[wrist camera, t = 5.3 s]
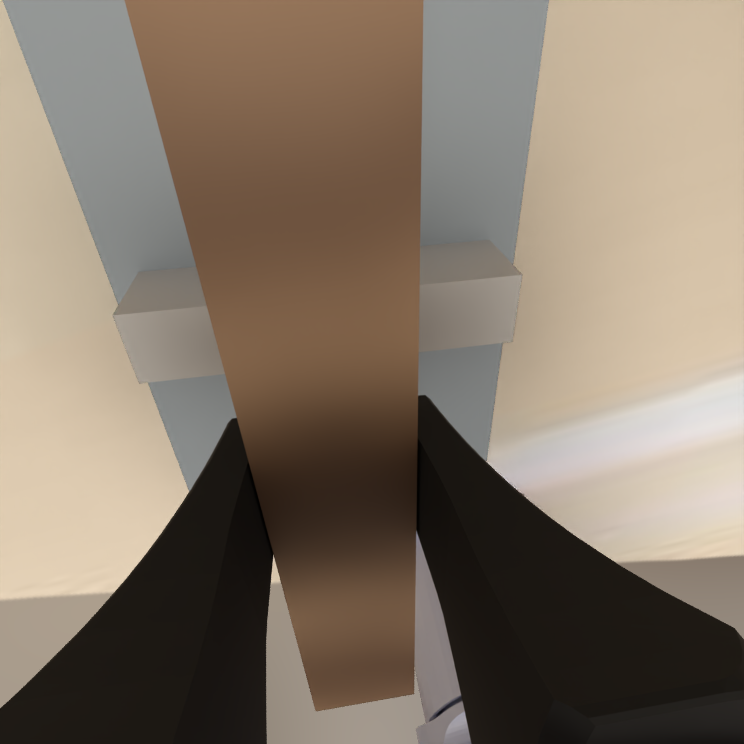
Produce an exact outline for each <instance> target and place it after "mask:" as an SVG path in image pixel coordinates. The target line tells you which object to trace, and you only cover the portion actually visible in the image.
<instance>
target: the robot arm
mask: <svg viewBox="0 0 744 744" xmlns="http://www.w3.org/2000/svg"><path fill="white" fill-rule="evenodd" d="M272 563H273V550H272V547H271V543H270V539H269V536H268V532H267V528H266V524H265V521H264V517H263V513H262V510H261V506H260V502H259V498H258V495H257V491H256V487H255V484H254V480H253V476H252V472H251V469H250V465H249V461H248V458H247V454H246V450H245V446H244V443H243V439H242V435H241V432H240V428H239V424H238V420H237V418H232V419H231V420H230V421H229V422H228V424H227V426H226V428H225V430H224V432H223V434H222V436H221V438H220V439H219V441H218V443H217V445H216V447H215V449H214V451H213V453H212V454H211V456H210V458H209V460H208V461H207V463H206V465H205V467H204V468H203V470H202V472H201V473H200V475H199V477H198V478H197V480H196V482H195V483H194V485H193V487H192V488H191V490H190V492H189V493H188V495H187V496H186V498H185V499H184V501H183V503H182V504H181V505H180V507H179V508H178V510H177V511H176V513H175V514H174V516H173V517H172V519H171V520H170V522H169V523H168V524H167V526H166V527H165V529H164V530H163V532H162V533H161V535H160V536H159V537H158V539H157V540H156V541H155V543H154V544H153V545H152V547H151V548H150V549H149V551H148V552H147V553H146V555H145V556H144V557H143V558H142V560H141V561H140V562H139V563H138V565H137V566H136V567H135V568H134V570H133V571H132V572H131V573H130V575H129V576H128V577H127V578H126V580H125V581H124V582H123V583H122V584H121V585H120V586H119V588H118V589H117V590H116V591H115V592H114V593H113V595H112V596H111V597H110V598H109V599H108V600H107V601H106V603H105V604H104V605H103V606H102V607H101V608H100V609H99V611H98V612H97V613H96V614H95V615H94V616H93V617H92V618H91V619H90V620H89V621H88V623H87V624H86V625H85V626H84V627H83V628H82V629H81V630H80V631H79V632H78V633H77V634H76V635H75V636H74V637H73V638H72V639H71V640H70V641H69V643H67V644H66V645H65V646H64V647H63V648H62V650H60V651H59V652H58V653H57V654H56V655H55V656H54V657H53V658H52V659H51V660H50V662H48V663H47V664H46V665H45V666H44V667H43V668H42V669H41V670H40V671H39V672H38V673H37V674H36V675H35V676H34V677H33V678H32V679H31V680H30V681H29V682H28V683H27V684H26V685H25V686H24V687H23V688H22V689H21V690H20V691H19V692H18V693H17V694H15V696H13V697H12V698H11V699H10V700H9V701H8V702H7V703H6V704H5V705H3V706H2V707H1V708H0V744H267V734H266V633H267V616H268V606H269V595H270V584H271V573H272ZM414 666H415V671H416V676H417V681H418V686H419V691H420V696H421V702H422V706H423V712H424V716H425V721H426V724H423V725H420V726H418V727H417V728H416V732H417V737H418V742H419V744H744V639H743V638H742V637H741V636H740V635H739V633H738V632H737V631H736V630H735V628H733V627H731V626H729V625H727V624H726V623H724V622H722V621H720V620H718V619H716V618H714V617H712V616H710V615H708V614H706V613H704V612H702V611H701V610H699V609H697V608H695V607H693V606H691V605H689V604H687V603H685V602H683V601H681V600H679V599H677V598H675V597H674V596H672V595H670V594H668V593H666V592H664V591H663V590H661V589H659V588H657V587H655V586H654V585H652V584H650V583H649V582H647V581H645V580H644V579H642V578H640V577H638V576H637V575H635V574H633V573H632V572H630V571H628V570H626V569H625V568H623V567H621V566H620V565H618V564H617V563H615V562H614V561H612V560H611V559H609V558H608V557H606V556H605V555H603V554H602V553H600V552H599V551H597V550H596V549H594V548H593V547H591V546H590V545H588V544H587V543H585V542H584V541H582V540H581V539H579V538H577V537H576V536H574V535H573V534H572V533H570V532H569V531H568V530H566V529H565V528H564V527H562V526H561V525H560V524H558V523H557V522H555V521H554V520H553V519H551V518H550V517H549V516H548V515H546V514H545V513H544V512H543V511H541V510H540V509H539V508H538V507H536V506H535V505H534V504H532V503H531V502H530V501H529V500H528V499H526V498H525V497H524V496H523V495H522V494H521V493H519V492H518V491H517V490H516V489H515V488H514V487H513V486H511V485H510V484H509V483H508V482H507V481H506V480H505V479H504V478H503V477H502V476H501V475H499V474H498V473H497V472H496V471H495V470H494V469H493V468H492V467H491V466H490V465H489V464H488V463H487V462H486V461H485V460H484V459H483V458H482V457H481V456H480V455H479V454H478V453H477V452H476V451H475V450H474V449H473V448H472V447H471V446H470V445H469V444H468V443H467V442H466V440H465V439H464V438H463V437H462V436H461V435H460V434H459V433H458V432H457V431H456V429H455V428H454V427H453V426H452V425H451V424H450V423H449V421H448V420H447V419H446V418H445V417H444V416H443V414H442V413H441V412H440V411H439V409H438V408H437V407H436V406H435V405H434V403H433V402H432V401H431V399H430V398H429V397H427V396H426V395H419V396H418V441H417V515H416V589H415V662H414Z"/></svg>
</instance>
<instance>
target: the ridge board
mask: <svg viewBox="0 0 744 744" xmlns="http://www.w3.org/2000/svg"><path fill="white" fill-rule="evenodd" d="M3 3H4V5H5V8H6V10H7V13H8V16H9V18H10V21H11V24H12V26H13V29H14V31H15V34H16V37H17V39H18V42H19V45H20V47H21V50H22V53H23V55H24V58H25V60H26V63H27V66H28V68H29V71H30V74H31V76H32V79H33V81H34V84H35V87H36V89H37V92H38V95H39V97H40V100H41V103H42V105H43V108H44V110H45V113H46V116H47V118H48V121H49V124H50V126H51V129H52V131H53V134H54V137H55V139H56V142H57V145H58V147H59V150H60V153H61V155H62V158H63V160H64V163H65V166H66V168H67V171H68V174H69V176H70V179H71V181H72V184H73V187H74V189H75V192H76V195H77V197H78V200H79V202H80V205H81V208H82V210H83V213H84V216H85V218H86V221H87V224H88V226H89V229H90V231H91V234H92V237H93V239H94V242H95V245H96V247H97V250H98V252H99V255H100V258H101V260H102V263H103V266H104V268H105V271H106V274H107V276H108V279H109V281H110V284H111V287H112V289H113V292H114V295H115V297H116V300H117V302H118V307H117V309H116V310H115V312H114V314H113V315H112V316H113V318H114V321H115V323H116V326H117V328H118V331H119V333H120V336H121V338H122V341H123V344H124V346H125V349H126V351H127V354H128V356H129V359H130V361H131V364H132V366H133V369H134V371H135V374H136V377H137V379H138V382H139V384H140V383H148V384H149V387H150V389H151V392H152V395H153V397H154V400H155V402H156V405H157V408H158V410H159V413H160V416H161V418H162V421H163V423H164V426H165V429H166V431H167V434H168V437H169V439H170V442H171V445H172V447H173V450H174V452H175V455H176V458H177V460H178V463H179V466H180V468H181V471H182V473H183V476H184V479H185V481H186V484H187V487H188V489H189V492H190V490H191V488H192V487H193V485H194V483H195V482H196V480H197V478H198V477H199V475H200V473H201V472H202V470H203V468H204V467H205V465H206V463H207V461H208V460H209V458H210V456H211V454H212V453H213V451H214V449H215V447H216V445H217V443H218V441H219V439H220V438H221V436H222V434H223V432H224V430H225V428H226V426H227V424H228V422H229V421H230V420H231V419H232V418H237V417H236V413H235V409H234V406H233V402H232V398H231V394H230V391H229V387H228V383H227V380H226V376H225V372H224V368H223V365H222V361H221V357H220V354H219V350H218V346H217V342H216V339H215V335H214V331H213V328H212V324H211V320H210V316H209V313H208V309H207V305H206V302H205V298H204V294H203V290H202V287H201V283H200V279H199V276H198V272H197V268H196V264H195V261H194V257H193V253H192V249H191V246H190V242H189V238H188V235H187V231H186V227H185V223H184V220H183V216H182V212H181V209H180V205H179V201H178V197H177V194H176V190H175V186H174V183H173V179H172V175H171V171H170V168H169V164H168V160H167V157H166V153H165V149H164V145H163V142H162V138H161V134H160V131H159V127H158V123H157V119H156V116H155V112H154V108H153V105H152V101H151V97H150V93H149V90H148V86H147V82H146V79H145V75H144V71H143V67H142V64H141V60H140V56H139V53H138V49H137V45H136V41H135V38H134V34H133V30H132V27H131V23H130V19H129V15H128V12H127V8H126V4H125V1H124V0H3ZM548 3H549V0H423V73H422V147H421V220H420V294H419V368H418V396H419V395H426V396H427V397H429V398H430V399H431V401H432V402H433V403H434V405H435V406H436V407H437V408H438V409H439V411H440V412H441V413H442V414H443V416H444V417H445V418H446V419H447V420H448V421H449V423H450V424H451V425H452V426H453V427H454V428H455V429H456V431H457V432H458V433H459V434H460V435H461V436H462V437H463V438H464V439H465V440H466V442H467V443H468V444H469V445H470V446H471V447H472V448H473V449H474V450H475V451H476V452H477V453H478V454H479V455H480V456H481V457H482V458H483V459H484V460H485V461H487V455H488V447H489V440H490V432H491V425H492V418H493V410H494V403H495V395H496V388H497V380H498V373H499V366H500V358H501V351H502V343H507V342H513V335H514V328H515V321H516V315H517V308H518V301H519V294H520V288H521V281H522V274H521V273H520V272H519V271H518V270H517V268H516V267H515V266H514V265H513V262H514V255H515V247H516V240H517V232H518V225H519V218H520V210H521V203H522V195H523V188H524V181H525V173H526V166H527V158H528V151H529V144H530V136H531V129H532V121H533V114H534V107H535V99H536V92H537V84H538V77H539V70H540V62H541V55H542V47H543V40H544V32H545V25H546V18H547V10H548Z"/></svg>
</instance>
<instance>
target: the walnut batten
mask: <svg viewBox="0 0 744 744" xmlns="http://www.w3.org/2000/svg"><path fill="white" fill-rule="evenodd" d="M124 1H125V4H126V8H127V12H128V15H129V19H130V23H131V27H132V30H133V34H134V38H135V41H136V45H137V49H138V53H139V56H140V60H141V64H142V67H143V71H144V75H145V79H146V82H147V86H148V90H149V93H150V97H151V101H152V105H153V108H154V112H155V116H156V119H157V123H158V127H159V131H160V134H161V138H162V142H163V145H164V149H165V153H166V157H167V160H168V164H169V168H170V171H171V175H172V179H173V183H174V186H175V190H176V194H177V197H178V201H179V205H180V209H181V212H182V216H183V220H184V223H185V227H186V231H187V235H188V238H189V242H190V246H191V249H192V253H193V257H194V261H195V264H196V268H197V272H198V276H199V279H200V283H201V287H202V290H203V294H204V298H205V302H206V305H207V309H208V313H209V316H210V320H211V324H212V328H213V331H214V335H215V339H216V342H217V346H218V350H219V354H220V357H221V361H222V365H223V368H224V372H225V376H226V380H227V383H228V387H229V391H230V394H231V398H232V402H233V406H234V409H235V413H236V417H237V420H238V424H239V428H240V432H241V435H242V439H243V443H244V446H245V450H246V454H247V458H248V461H249V465H250V469H251V472H252V476H253V480H254V484H255V487H256V491H257V495H258V498H259V502H260V506H261V510H262V513H263V517H264V521H265V524H266V528H267V532H268V536H269V539H270V543H271V547H272V550H273V554H274V558H275V562H276V565H277V569H278V573H279V576H280V580H281V584H282V587H283V591H284V595H285V599H286V602H287V606H288V610H289V614H290V617H291V621H292V625H293V628H294V632H295V636H296V639H297V643H298V647H299V650H300V654H301V658H302V662H303V666H304V669H305V673H306V676H307V680H308V684H309V688H310V692H311V695H312V699H313V703H314V706H315V710H316V711H321V710H326V709H332V708H337V707H344V706H349V705H355V704H360V703H366V702H372V701H378V700H383V699H389V698H394V697H400V696H406V695H412V694H414V662H415V589H416V515H417V441H418V368H419V294H420V220H421V147H422V73H423V0H124Z"/></svg>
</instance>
